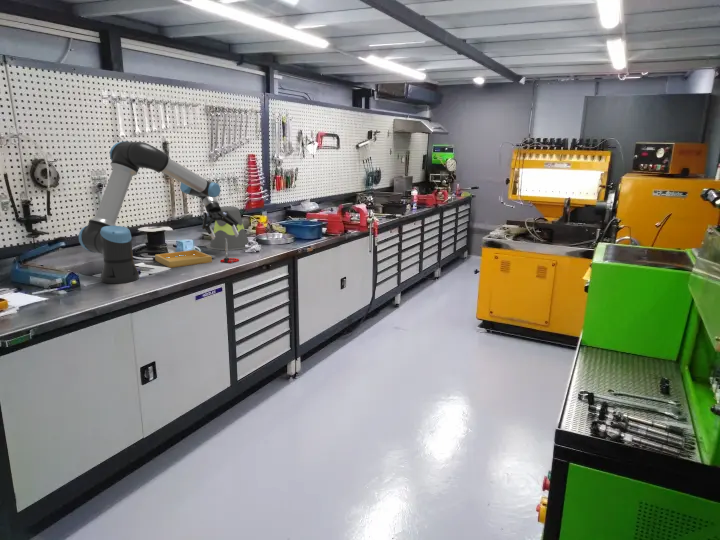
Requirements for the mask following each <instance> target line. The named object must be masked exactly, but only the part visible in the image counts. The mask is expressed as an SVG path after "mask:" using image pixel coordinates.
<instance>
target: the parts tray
mask: <svg viewBox="0 0 720 540" xmlns="http://www.w3.org/2000/svg"><path fill="white" fill-rule="evenodd" d="M193 254H195V255H193ZM179 255H184V256H179ZM185 255H186V256H185ZM175 256H178V257H175ZM166 257H170V258H166ZM154 258H155V259H154V261H155V262H157V263H159V264H161V265H163V266H165V267H168V269H172V268H180V267H187V266H195V265H202V264H209V263H210V264H211V263H213V257H212V256H211V255H209V254H207V253H204V252H202V251H199V250H197V249H193V250H192V249H191V250H184V251H176V252H166V253H160V254H159V253H158V254H157V253H156V254H155V255H154Z"/></svg>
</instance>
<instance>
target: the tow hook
mask: <svg viewBox="0 0 720 540" xmlns="http://www.w3.org/2000/svg"><path fill="white" fill-rule="evenodd" d="M224 251H225V253H224V258H222V259H220V263H225V264H233V263H238V262H239V261H240V259H239V258H238V257H237V258H236V257H235V258H234V257H229V250H228V242H227V238H226V242H225V250H224Z"/></svg>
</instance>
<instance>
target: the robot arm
mask: <svg viewBox="0 0 720 540" xmlns="http://www.w3.org/2000/svg"><path fill="white" fill-rule="evenodd" d="M109 157H110V161H111V162H110V167H111V168H112V171H111V173H110V176H109V179H108V181H107V184H106V186H105V189H104V191H103V194H102V197H101V200H100V202H99V206H98V208H97V210H96V213H95V216H94V217H92V218H90V219H89V220H88V224H87V225H85V226H84V227H82V228H81V229H80V230H79V233H78V243H79V244H80V246H81V247H82V249H84V250H87V252H88V251H89V252H92V253H94V254H95V253H97V254H102V257H103V267H102V271H101V275H100V280H101V282H102V283H104V284H126V283H130V282H135V281H137V280H139V278H140V274H139V270H138V269H137V267H136V264H135V262H134V254H133V245H132V244H133V243H132V242H133V241H132V239H133V238H132V233H131V231H130V229H129V228H127V227H125V226H123V225H122V226H121V225H116V223H117V219H118V217H119V214H120V212H121V209H122V206H123V203H124V201H125V198H126V194H127V192H128V189H129V187H130V183H131V181H132V180H133V179H132V178H133V177H135V176H137V175H138V173H139V170H140V168H141V169H148V170H152V171H155V172H156V173H162V174H165V175H166V176H168V177H169V178H172V179H174V180H176V181H178V182H179V183H180V186H179V188H180V191H181V192H182V193H183V194H186V195H190V196H194V197H196V198H200V199H201V202H202V204H203V207H204V209H205V210H206V211H205V212H203V215H202V217H203V220H202V227H201V228H202V230H204V229H205V231H206V232H207V233H208V234H209V235H210V236H211V238H212V239H213V240H214V239H215V235H214V232H213V230H214V229H213V228H212V226H211V224H212V223H213V221H214V222H215V221H216V220H222V221H224V222H226V223H227V224H229V225H231V226H232V229H233V232H234V234H235V236H236V237H238V235H239V233H238V231H237V230H238V228H237V225H238V222H237V221H236V220H235V219H234V218H233V217H232V216H231V215H230V214H229V213H228V211H225V212H222V211H221V208H220V207H221V206H220V204H219V201H218V199H217V197H219V196H220V193H221V186H220V184H219V183H217V182H213V181H212V182H211V181H209V180H207V179H205V178H204V177H202V176H201V175H199V174H197V173H195V172H194V171H192V170H190V169H188V168H186V167H185V166H184V165H181V164H180V163H178V162H176V161H175V160H173V159H171V158H170V157H169V155H168V154H167V153H165V152H163V151H162V150H161V149H158V148H157V147H155V146H153V145H151V144H150V143H147V142H144V141H126V140H125V141H119V142H116V143H115V144H113V145H112V147H111V148H110V150H109ZM208 217H209V218H210V220H209V221H208V219H207V218H208ZM222 217H223V218H222ZM207 221H208V223H207Z"/></svg>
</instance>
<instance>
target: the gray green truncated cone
mask: <svg viewBox="0 0 720 540" xmlns="http://www.w3.org/2000/svg"><path fill="white" fill-rule="evenodd" d="M220 208H221V211H222V212H225V211H228V213H229V214H230V215H231V216H232V217H233V218H234V219H235V220H236V221H237V222H238V225H237V228H238V230H237V231H238V233H239V235H238V237H236V236H235V234H234V232H233V229H232V226H231V225H229V224H227V223H226V222H224V221H222V220H216V221H215V220H214V227H213V229H212V230H213V232H214V235H215V239H214V240H213V239H212V237H211V240H210V243H209V244H207V245H206V246H205V247H206V248H207V249H209V250H214V251H225V242H226V238H227V242H228V251H236V250H237V251H238V250H245V244H247V243H248V242H249V239H248V235H247V233H246V230H245V227H244V224H243V219H242V215H241V212H240V209H239V208H238V206H237V207H236V206H232V205H231V206H227V205H226V206H220ZM222 218H223V217H222ZM249 243H250V242H249Z"/></svg>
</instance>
